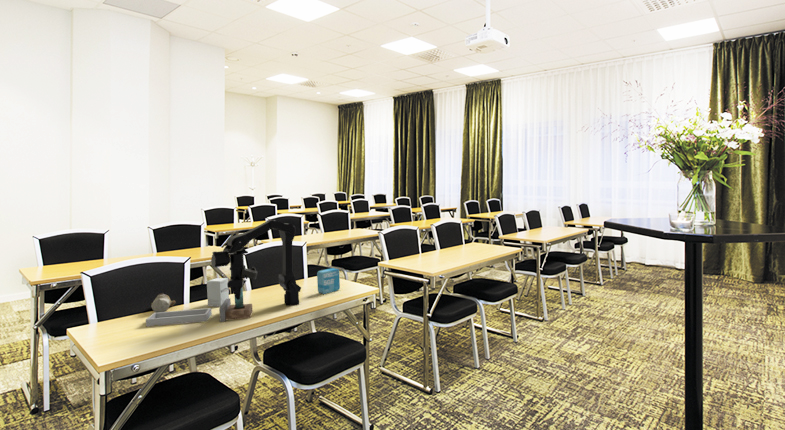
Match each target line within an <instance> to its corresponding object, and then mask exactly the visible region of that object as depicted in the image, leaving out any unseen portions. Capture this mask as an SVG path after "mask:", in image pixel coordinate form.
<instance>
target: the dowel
mask: <svg viewBox="0 0 785 430" xmlns="http://www.w3.org/2000/svg"><path fill="white" fill-rule="evenodd" d="M243 287H244V286H243ZM243 287H242V288H241V294H240V299H239V300H237V298H236V297H235V295H234V294H233V295H234V305H235V308H242V307H244V304H245V303H244V290H243Z"/></svg>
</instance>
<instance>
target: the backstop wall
mask: <svg viewBox="0 0 785 430" xmlns="http://www.w3.org/2000/svg"><path fill="white" fill-rule="evenodd" d="M231 303H232V301H231V298H229V299H225V301H224V302H223V304H222V305H221V307H219V308H218V310H219V311H218V312H219V322H220V323H222V322H223V323H224V322H226V321H227V320H226V310H227V309H228V307H229V306H230V305H232V304H231Z"/></svg>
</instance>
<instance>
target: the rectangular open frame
mask: <svg viewBox="0 0 785 430" xmlns="http://www.w3.org/2000/svg"><path fill="white" fill-rule="evenodd" d="M212 313H213V312H212V308H211V307H208V308H197V309H196V308H195V309H184V310H183V309H182V310H173V311H172V310H171V311H165V312H157V313H156V312H153V313H152V314H151V315H150V316H148V317H147V318H146V319H145V326H147V327H155V326H154V325H158V326H166V325H168V326H169V325H177V324H188V323H190V324H191V323H201V322H207V321H208V320H209V319H210V317H211V316H212Z"/></svg>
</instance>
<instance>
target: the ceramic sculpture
mask: <svg viewBox="0 0 785 430" xmlns="http://www.w3.org/2000/svg"><path fill="white" fill-rule="evenodd" d="M176 303H177V302H176V300H171V298H170V296H169V295H167V294H164V292H161V293H159V294H158V295H157V296H156V297H155V299H153V302H151V304H150V305H151V309H152V311H153V313H157V312H168V311H167V310H168V309H169V308H170V307H173V306H174V305H175V304H176Z"/></svg>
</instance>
